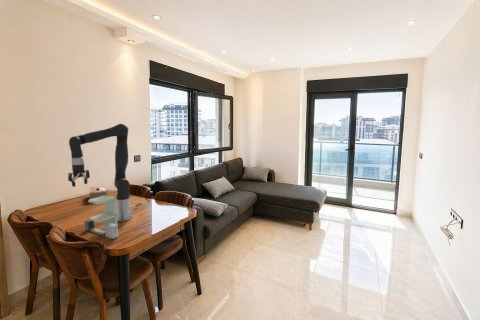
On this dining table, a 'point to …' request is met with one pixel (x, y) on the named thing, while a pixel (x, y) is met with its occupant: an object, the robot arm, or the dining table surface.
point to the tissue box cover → (97, 192)
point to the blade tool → (92, 228)
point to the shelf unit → (106, 209)
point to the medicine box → (111, 230)
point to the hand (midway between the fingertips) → (80, 185)
